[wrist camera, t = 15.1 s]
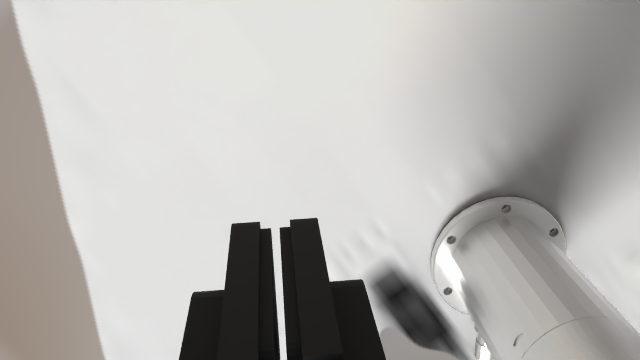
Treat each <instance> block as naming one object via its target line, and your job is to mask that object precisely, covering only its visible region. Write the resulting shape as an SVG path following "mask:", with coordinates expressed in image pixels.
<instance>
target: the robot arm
mask: <svg viewBox="0 0 640 360" xmlns="http://www.w3.org/2000/svg"><path fill="white" fill-rule="evenodd" d="M449 236H450V237H449ZM280 242H281V260H282V278H283V296H284V314H285V331H286V349H287V360H386V358H385V354H384V351H383V347H382V344H381V340H380V337H379V333H378V330H377V327H376V323H375V320H374V316H373V313H372V309H371V306H370V302H369V299H368V295H367V292H366V288H365V285H364V282H363V280H361V279H360V280H346V281H333V282H329V277H328V271H327V266H326V261H325V256H324V250H323V245H322V240H321V235H320V229H319V224H318V219H317V218H309V219H294V220H290V227H282V228H280ZM431 274H432V278H433V281H434V284H435V286H436V288H437V290H438V292H439V294H440V295H441V296H442V298H443V299H444V300H445V302H447V303H448V304H449V305H450V306H451V307H452V308H454V309H456V310H458V311H460V312H461V313H464V314H467V315H470V316H471V318H472V320H473V322H474V328H475V330H476V331H477V332H478V335H477V338H476V346H475V356H476V358H477V359H479V360H640V333H639V332H638V331H637V330H636V329H635V328H634V327H633V326H632V325H631V324H630V323H629V322H628V321H627V320H626V319H625V318H624V317H623V316H622V314H621V313H620V312H619V311H618V310H617V309H616V308H615V307H614V306H613V305H612V304H611V303H610V302H609V301H608V300H607V299H606V298H605V296H604V295H603V294H602V293H601V292H600V291H599V290H598V289H597V288H596V287H595V286H594V285H593V284H592V283H591V282H590V281H589V279H588V278H587V277H586V276H585V275H584V274H583V273H582V272H581V271H580V270H579V269H578V268H577V267H576V266H575V265H574V264H573V262H572V261H571V260H570V259H569V258H568V257H567V256H566V242H565V236H564V233H563V231H562V228H561V226H560V224H559V223H558V222H557V220H556V219H555V218H554V216H553V215H551V214H550V213H549V212H548V211H547V210H546V209H545V208H543V207H542V206H540V205H539V204H537V203H536V202H533V201H530V200H528V199H525V198H519V197H496V198H491V199H487V200H484V201H481V202H479V203H476V204H474V205H472V206H470V207H468V208H467V209H465V210H463V211H462V212H460V213H459V214H458V215H457V216H455V217H454V218H453V219H452V220H451V221H450V222H449V223H448V224H447V225H446V227H445V228H444V229H443V230H442V232H441V234H440V235H439V237H438V239H437V240H436V243H435V246H434V248H433V251H432V257H431ZM179 360H280V348H279V333H278V319H277V305H276V291H275V277H274V263H273V249H272V236H271V228H268V229H260V222H250V223H236V224H232V226H231V235H230V244H229V253H228V262H227V272H226V281H225V290H215V291H202V292H194V293H193V294H192V297H191V301H190V306H189V312H188V317H187V322H186V327H185V332H184V337H183V342H182V347H181V352H180V357H179Z"/></svg>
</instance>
